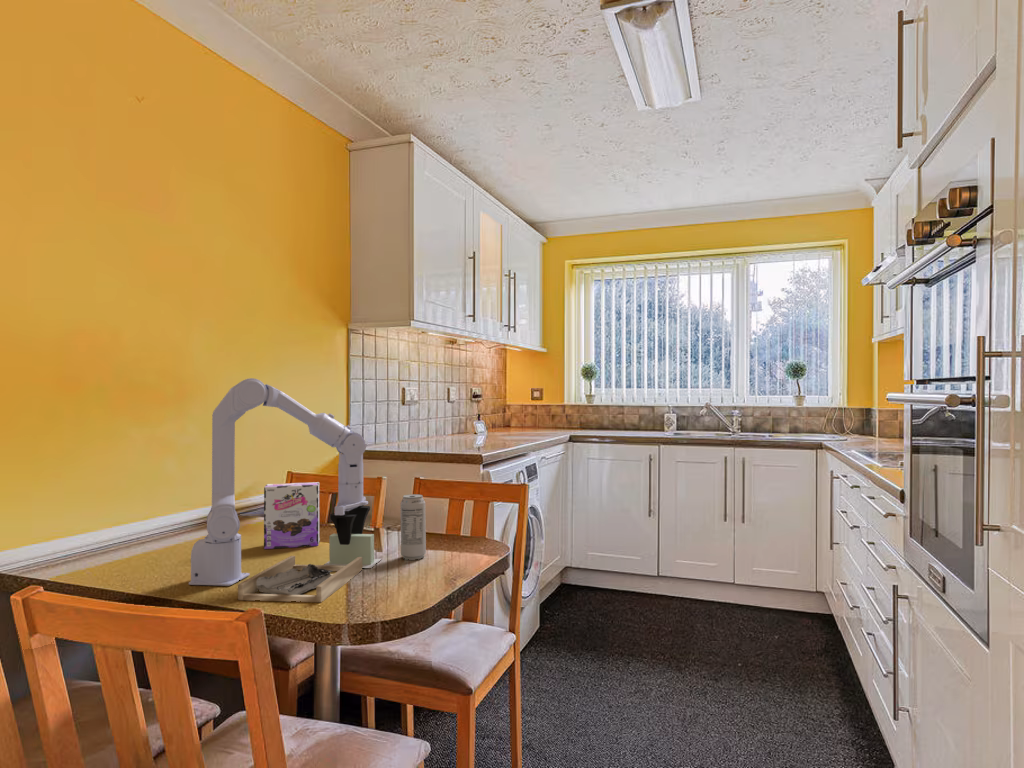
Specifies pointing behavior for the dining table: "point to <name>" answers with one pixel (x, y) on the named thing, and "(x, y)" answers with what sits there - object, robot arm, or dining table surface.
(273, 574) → the birch rack
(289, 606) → the dining table surface
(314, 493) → the candy box
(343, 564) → the light gray panel
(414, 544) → the energy drink can
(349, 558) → the pale green block
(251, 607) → the dining table surface
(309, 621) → the dining table surface
